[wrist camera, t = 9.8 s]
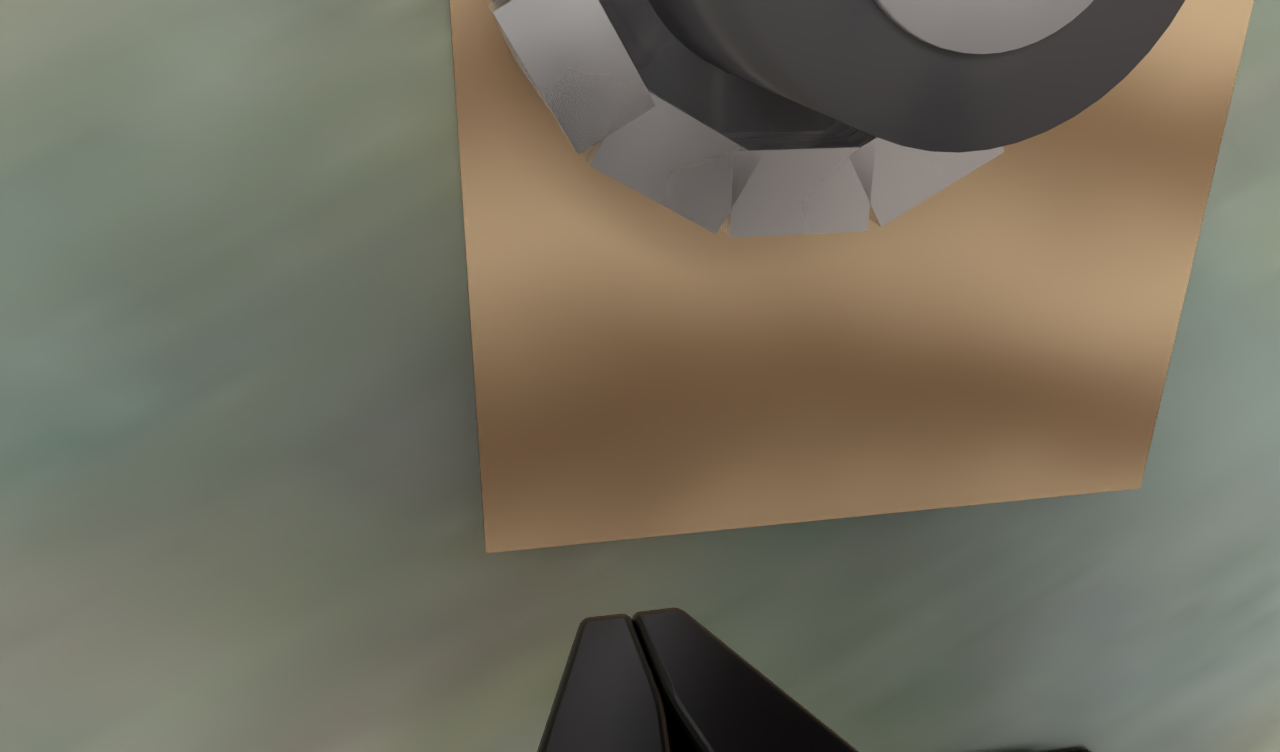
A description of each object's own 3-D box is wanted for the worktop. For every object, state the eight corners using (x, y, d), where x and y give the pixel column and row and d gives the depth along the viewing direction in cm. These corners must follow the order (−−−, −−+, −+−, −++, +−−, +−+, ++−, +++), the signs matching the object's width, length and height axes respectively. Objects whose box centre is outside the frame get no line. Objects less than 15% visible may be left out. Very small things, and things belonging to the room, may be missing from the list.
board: (1113, 467, 24) (1140, 488, 23) (484, 527, 21) (486, 553, 21) (1319, -471, 17) (1369, -494, 16) (412, -552, 14) (411, -585, 13)
